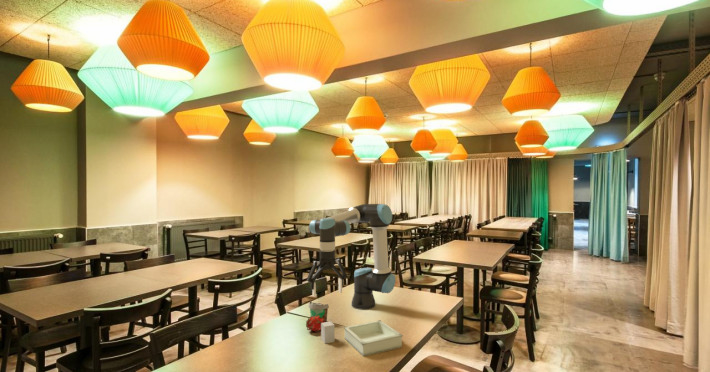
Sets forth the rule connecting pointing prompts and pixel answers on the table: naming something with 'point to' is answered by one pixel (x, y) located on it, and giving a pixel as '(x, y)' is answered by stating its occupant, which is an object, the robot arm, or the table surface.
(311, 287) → the robot arm
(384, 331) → the bin
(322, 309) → the food container
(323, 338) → the stone block
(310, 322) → the dragon fruit
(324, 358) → the table surface
